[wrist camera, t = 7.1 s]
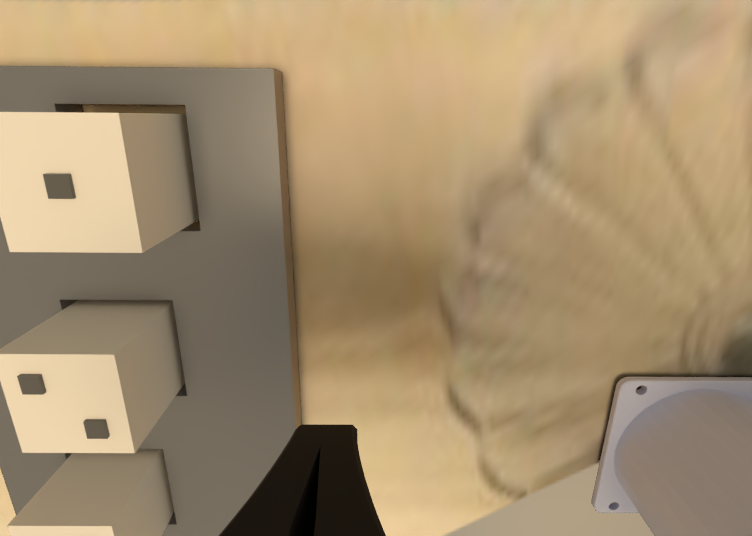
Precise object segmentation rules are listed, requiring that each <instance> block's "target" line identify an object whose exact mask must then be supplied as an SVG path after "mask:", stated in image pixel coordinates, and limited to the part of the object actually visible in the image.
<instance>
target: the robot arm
mask: <svg viewBox="0 0 752 536" xmlns="http://www.w3.org/2000/svg"><path fill="white" fill-rule="evenodd" d="M639 386H642V387H641V388H640V389H639V390H636V389H637V387H639ZM592 505H593V507H594V508H595V510H596V511H598V512H601V513H640V515H641V516H642V518H643V519H644V521H645V522H646V524H647V525H648V527H649V528H650V530H651V531H652V533H653V534H654V535H655V536H752V377H624V378H622V379H621V380H620V381H619V382H618V383H617V385H616V389H615V393H614V398H613V403H612V407H611V412H610V417H609V421H608V426H607V431H606V435H605V440H604V445H603V449H602V454H601V459H600V463H599V468H598V473H597V477H596V482H595V487H594V492H593V496H592ZM219 536H386V535H385V533H384V530H383V528H382V525H381V523H380V520H379V518H378V515H377V513H376V510H375V507H374V504H373V502H372V499H371V496H370V492H369V489H368V486H367V483H366V480H365V477H364V473H363V469H362V465H361V461H360V456H359V451H358V444H357V429H356V428H355V427H354V426H353V425H300V426H299V427H297V428H296V430H295V431H294V433H293V435H292V437H291V438H290V440H289V442H288V443H287V445H286V446H285V448H284V450H283V451H282V453H281V454H280V456H279V457H278V459H277V460H276V462H275V463H274V465H273V466H272V468H271V469H270V470H269V472H268V473H267V474H266V476H265V477H264V479H263V480H262V481H261V483H260V484H259V486H258V487H257V488H256V490H255V491H254V492H253V494H252V495H251V496H250V498H249V499H248V500H247V502H246V503H245V504H244V505H243V506H242V508H241V509H240V510H239V511H238V513H237V514H236V515H235V516H234V518H233V519H232V520H231V521H230V523H229V524H228V525H227V526H226V527H225V529H224V530H223V531H222V532H221V533H220V535H219Z"/></svg>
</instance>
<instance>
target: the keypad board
mask: <svg viewBox="0 0 752 536" xmlns="http://www.w3.org/2000/svg"><path fill="white" fill-rule="evenodd" d="M81 105H183V106H185V109H186V117H187V125H188V133H189V141H190V149H191V157H192V165H193V173H194V181H195V189H196V197H197V205H198V213H199V221H200V222H194V223H192V224H191V225H189V226H187V227H186V228H184V229H182V230H181V231H179V232H177V233H175V234H174V235H172V236H170V237H169V238H167V239H165V240H164V241H162V242H160V243H158V244H157V245H155V246H153V247H152V248H150V249H148V250H147V251H145V252H143V253H82V252H10V251H9V247H8V244H7V240H6V236H5V233H4V229H3V225H2V222H1V218H0V349H1V348H2V347H4V346H5V345H7V344H9V343H10V342H12V341H13V340H15V339H17V338H18V337H20V336H21V335H23V334H25V333H26V332H28V331H30V330H31V329H33V328H34V327H36V326H38V325H39V324H41V323H42V322H44V321H46V320H47V319H49V318H50V317H52V316H54V315H55V314H57V313H59V312H60V311H62V310H63V309H65V308H67V307H68V306H70V305H71V304H73V303H75V302H76V301H78V300H173V306H174V313H175V319H176V326H177V332H178V339H179V345H180V352H181V358H182V365H183V371H184V378H185V383H184V385H183V386H182V388H181V389H180V390H179V392H178V393H177V395H176V396H175V397H174V399H173V400H172V402H171V403H170V405H169V406H168V407H167V409H166V410H165V412H164V413H163V414H162V416H161V417H160V419H159V420H158V421H157V423H156V424H155V426H154V427H153V428H152V430H151V431H150V433H149V434H148V435H147V437H146V438H145V440H144V441H143V442H142V444H141V445H140V447H139V448H138V449H163V452H164V457H165V463H166V468H167V473H168V479H169V484H170V490H171V495H172V501H173V506H174V513H173V515H172V517H171V519H170V521H169V523H168V525H167V527H166V529H165V531H164V533H163V535H162V536H219V535H220V533H221V532H222V531H223V530H224V529H225V527H226V526H227V525H228V524H229V523H230V521H231V520H232V519H233V518H234V516H235V515H236V514H237V513H238V511H239V510H240V509H241V508H242V506H243V505H244V504H245V503H246V502H247V500H248V499H249V498H250V496H251V495H252V494H253V492H254V491H255V490H256V488H257V487H258V486H259V484H260V483H261V481H262V480H263V479H264V477H265V476H266V474H267V473H268V472H269V470H270V469H271V468H272V466H273V465H274V463H275V462H276V460H277V459H278V457H279V456H280V454H281V453H282V451H283V450H284V448H285V446H286V445H287V443H288V442H289V440H290V438H291V437H292V435H293V433H294V431H295V430H296V428H297V427H299V426H300V425H302V418H301V400H300V383H299V365H298V347H297V329H296V312H295V294H294V276H293V258H292V241H291V223H290V205H289V187H288V170H287V152H286V134H285V116H284V99H283V81H282V72H280V71H278V70H276V69H274V68H174V67H60V66H0V112H77V113H83V112H82V107H81ZM71 454H72V453H22V450H21V446H20V443H19V440H18V437H17V433H16V430H15V427H14V424H13V421H12V417H11V414H10V411H9V408H8V405H7V401H6V398H5V395H4V392H3V389H2V385H1V382H0V468H1V471H2V474H3V477H4V480H5V483H6V486H7V489H8V492H9V495H10V498H11V501H12V504H13V507H14V510H15V513H16V515H17V514H18V513H19V512H20V511H21V510H22V509H23V507H24V506H25V505H26V504H27V503H28V502H29V501H30V500H31V499H32V497H33V496H34V495H35V494H36V493H37V492H38V491H39V490H40V488H41V487H42V486H43V485H44V484H45V483H46V482H47V481H48V480H49V478H50V477H51V476H52V475H53V474H54V473H55V472H56V471H57V470H58V468H59V467H60V466H61V465H62V464H63V463H64V462H65V461H66V460H67V458H68V457H69V456H70V455H71Z"/></svg>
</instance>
